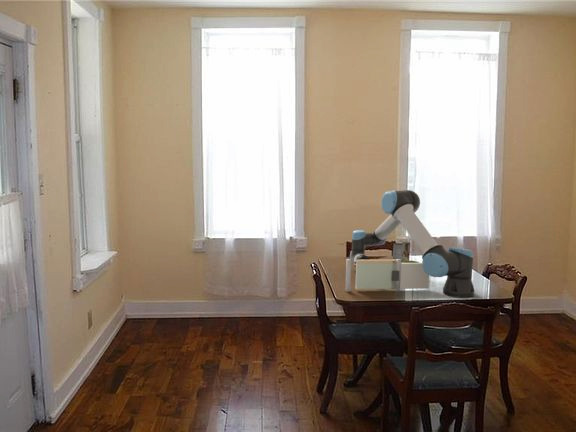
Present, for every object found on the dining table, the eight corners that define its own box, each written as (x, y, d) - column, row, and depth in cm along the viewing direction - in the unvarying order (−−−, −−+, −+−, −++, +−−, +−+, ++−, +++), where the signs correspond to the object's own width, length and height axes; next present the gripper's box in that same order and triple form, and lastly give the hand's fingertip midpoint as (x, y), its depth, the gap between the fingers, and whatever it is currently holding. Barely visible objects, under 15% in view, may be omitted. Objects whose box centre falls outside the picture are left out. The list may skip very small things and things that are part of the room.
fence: (429, 291, 291) (431, 260, 289) (346, 292, 285) (347, 260, 283) (427, 289, 294) (428, 258, 292) (344, 290, 289) (345, 259, 287)
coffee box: (399, 267, 345) (401, 240, 343) (409, 269, 341) (410, 242, 338) (391, 269, 338) (393, 242, 336) (401, 271, 334) (402, 244, 332)
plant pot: (418, 280, 314) (419, 264, 313) (401, 278, 316) (402, 263, 315) (418, 276, 323) (419, 261, 322) (401, 275, 325) (402, 260, 324)
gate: (355, 289, 287) (357, 260, 285) (355, 288, 289) (356, 259, 287) (394, 288, 290) (396, 260, 288) (394, 288, 291) (395, 259, 289)
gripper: (373, 267, 323) (385, 277, 299) (350, 267, 321) (361, 278, 298) (373, 254, 322) (386, 263, 298) (351, 254, 320) (361, 263, 297)
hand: (373, 270), depth 298 cm, fingers closed
